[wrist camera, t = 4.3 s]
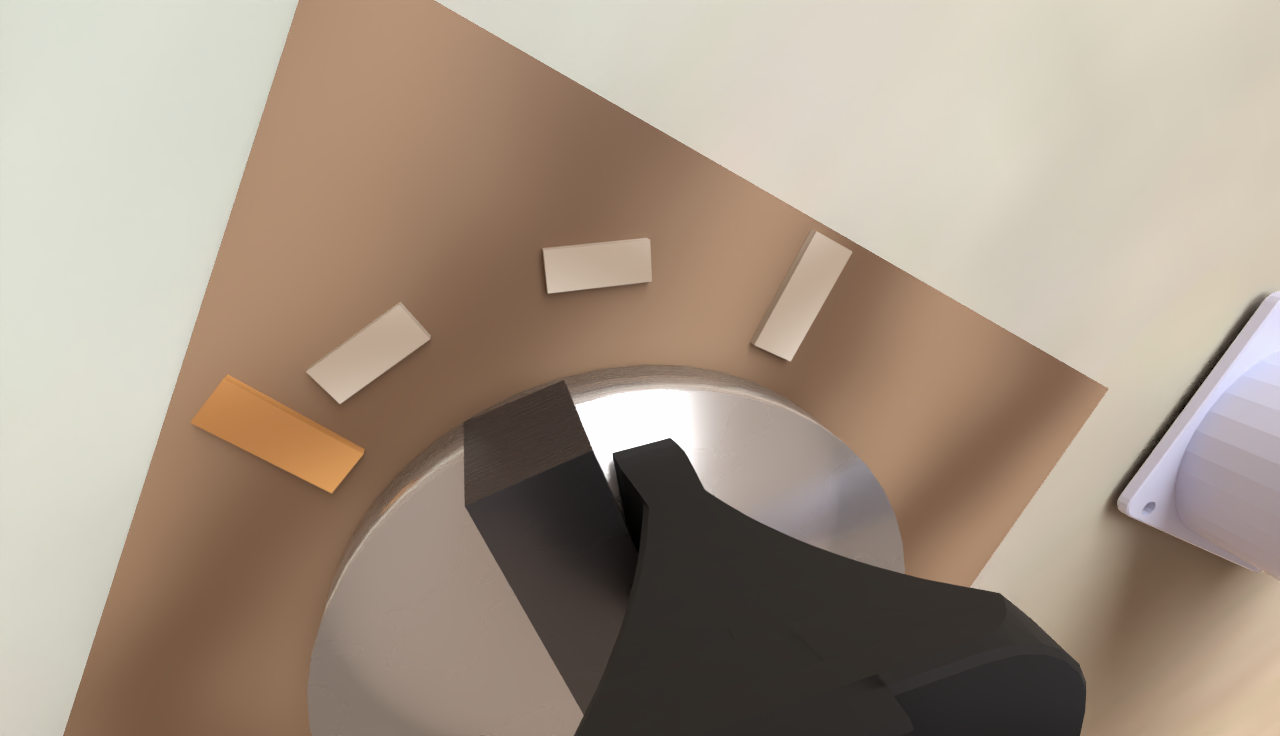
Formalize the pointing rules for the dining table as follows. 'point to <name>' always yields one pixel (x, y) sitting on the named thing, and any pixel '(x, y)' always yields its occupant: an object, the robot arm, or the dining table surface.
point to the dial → (555, 547)
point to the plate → (503, 345)
